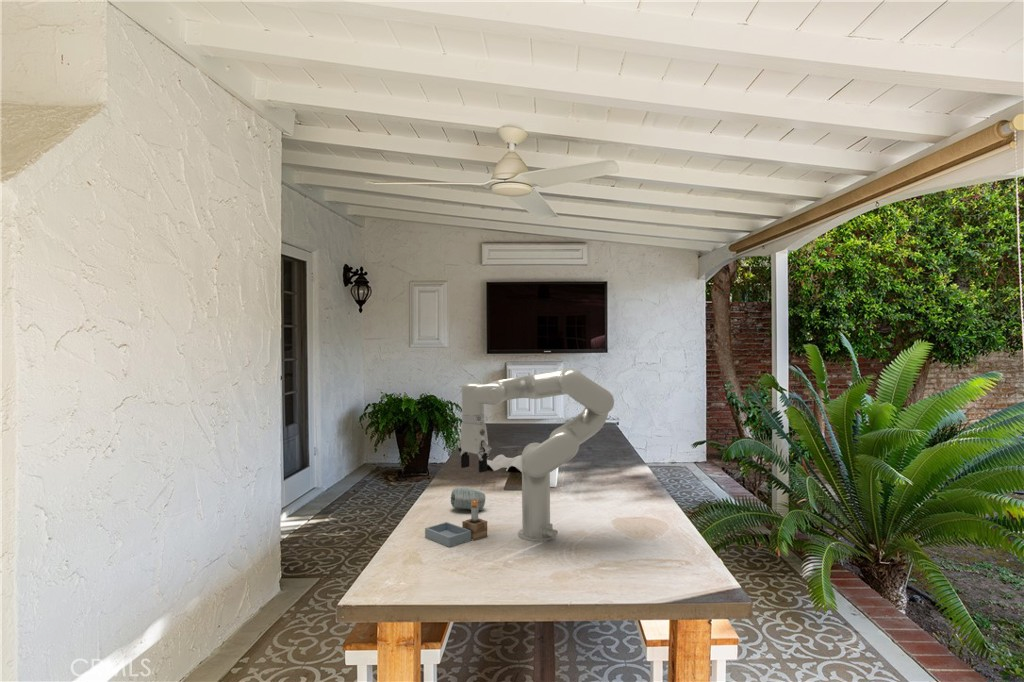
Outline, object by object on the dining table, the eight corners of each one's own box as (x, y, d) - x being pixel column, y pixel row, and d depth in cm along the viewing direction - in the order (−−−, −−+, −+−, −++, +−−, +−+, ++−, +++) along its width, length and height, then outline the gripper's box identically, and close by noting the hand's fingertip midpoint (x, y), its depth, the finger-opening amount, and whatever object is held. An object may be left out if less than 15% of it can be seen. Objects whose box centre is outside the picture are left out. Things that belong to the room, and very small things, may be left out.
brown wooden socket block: (487, 535, 191) (487, 521, 191) (473, 540, 187) (473, 525, 187) (475, 531, 195) (475, 517, 195) (462, 536, 191) (462, 521, 191)
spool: (444, 507, 216) (453, 483, 215) (450, 500, 225) (459, 477, 225) (477, 521, 214) (486, 497, 214) (481, 514, 224) (490, 491, 223)
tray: (471, 540, 187) (471, 530, 187) (449, 547, 181) (449, 537, 181) (446, 530, 197) (446, 521, 197) (425, 537, 190) (425, 528, 190)
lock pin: (479, 530, 191) (479, 500, 191) (474, 531, 189) (474, 502, 189) (475, 528, 193) (475, 499, 193) (469, 530, 191) (469, 500, 191)
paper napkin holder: (475, 475, 279) (475, 456, 279) (489, 467, 297) (489, 449, 297) (524, 479, 271) (523, 458, 271) (534, 470, 289) (534, 451, 289)
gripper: (498, 420, 188) (498, 471, 188) (466, 416, 201) (467, 464, 201) (480, 422, 183) (481, 475, 183) (449, 418, 196) (450, 467, 196)
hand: (474, 469), depth 192 cm, fingers open, 9 cm apart
